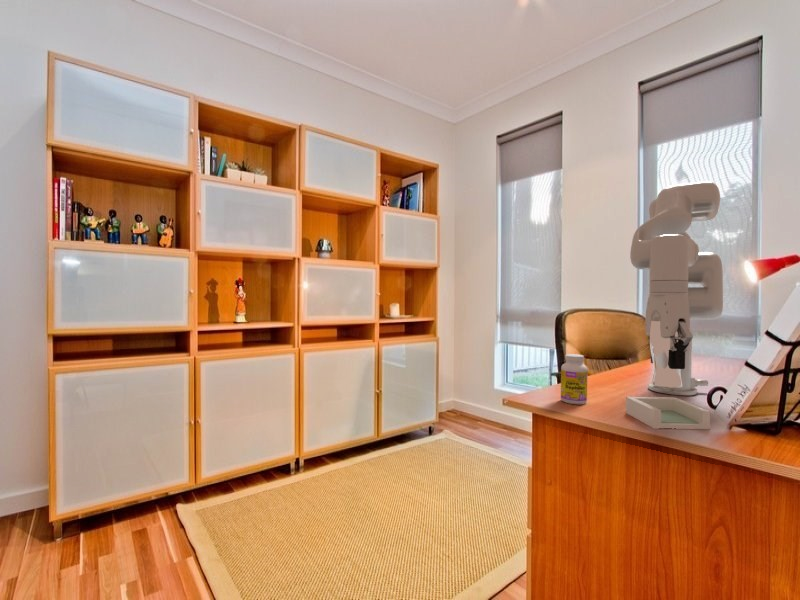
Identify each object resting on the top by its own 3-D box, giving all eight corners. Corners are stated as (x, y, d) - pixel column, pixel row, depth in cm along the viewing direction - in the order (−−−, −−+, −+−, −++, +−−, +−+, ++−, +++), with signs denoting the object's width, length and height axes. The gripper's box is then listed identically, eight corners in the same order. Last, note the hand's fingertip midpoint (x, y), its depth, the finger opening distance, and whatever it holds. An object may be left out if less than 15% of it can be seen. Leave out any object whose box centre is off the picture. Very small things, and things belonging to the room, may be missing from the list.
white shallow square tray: (675, 413, 102) (675, 397, 102) (709, 429, 90) (709, 411, 90) (625, 412, 103) (626, 396, 103) (653, 428, 91) (654, 410, 91)
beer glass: (690, 389, 92) (691, 322, 92) (656, 387, 93) (656, 321, 93) (676, 383, 99) (677, 320, 98) (644, 381, 100) (645, 319, 100)
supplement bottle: (561, 403, 111) (561, 356, 111) (560, 397, 117) (560, 352, 117) (588, 406, 109) (588, 357, 109) (585, 400, 115) (586, 354, 115)
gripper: (632, 289, 104) (631, 360, 105) (675, 288, 87) (674, 372, 87) (662, 289, 104) (661, 360, 104) (711, 288, 87) (710, 373, 87)
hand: (667, 365), depth 96 cm, fingers closed on beer glass, 6 cm apart
